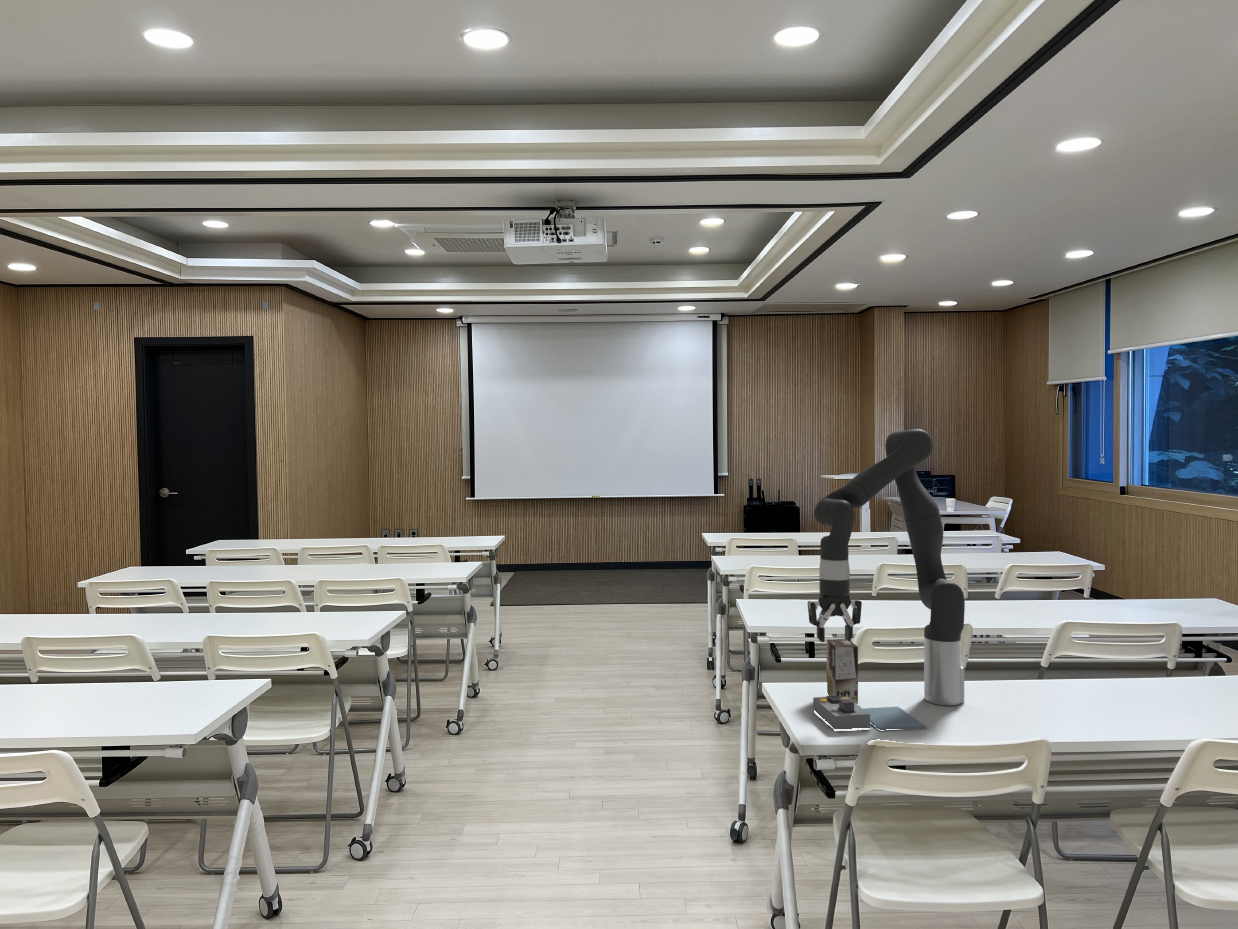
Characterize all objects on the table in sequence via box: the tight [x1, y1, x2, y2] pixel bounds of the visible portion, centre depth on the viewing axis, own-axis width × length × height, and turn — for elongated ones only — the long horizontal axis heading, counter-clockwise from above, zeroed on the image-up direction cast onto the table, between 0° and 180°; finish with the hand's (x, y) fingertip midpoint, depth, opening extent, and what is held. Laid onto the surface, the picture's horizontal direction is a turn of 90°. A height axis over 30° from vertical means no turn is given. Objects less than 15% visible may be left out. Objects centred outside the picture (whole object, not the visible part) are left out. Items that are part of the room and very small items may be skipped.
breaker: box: [839, 698, 854, 713], centre depth 186 cm, size 3×3×3 cm
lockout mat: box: [862, 706, 927, 730], centre depth 190 cm, size 12×14×1 cm
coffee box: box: [826, 638, 859, 705], centre depth 205 cm, size 9×6×16 cm
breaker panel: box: [812, 696, 871, 729], centre depth 189 cm, size 14×9×5 cm, turn 7°
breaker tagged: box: [827, 696, 841, 704], centre depth 192 cm, size 3×3×3 cm
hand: (834, 640), depth 192 cm, fingers open, 6 cm apart
